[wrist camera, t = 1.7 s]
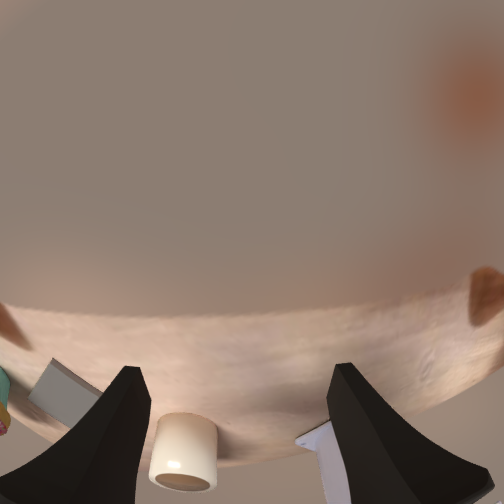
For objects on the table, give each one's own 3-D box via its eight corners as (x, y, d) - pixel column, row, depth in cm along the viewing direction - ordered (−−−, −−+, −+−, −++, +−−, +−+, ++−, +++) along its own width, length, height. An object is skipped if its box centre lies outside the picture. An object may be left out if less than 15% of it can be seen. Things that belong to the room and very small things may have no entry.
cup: (230, 429, 22) (231, 485, 17) (193, 447, 24) (189, 496, 19) (180, 404, 21) (173, 465, 16) (146, 425, 22) (136, 477, 17)
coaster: (144, 417, 21) (143, 422, 21) (102, 441, 24) (101, 446, 23) (52, 357, 18) (49, 363, 18) (29, 394, 21) (27, 399, 20)
